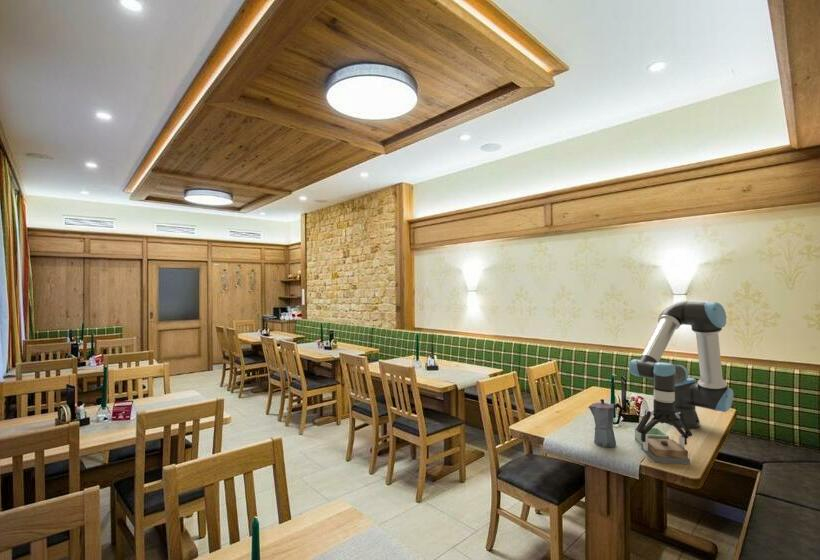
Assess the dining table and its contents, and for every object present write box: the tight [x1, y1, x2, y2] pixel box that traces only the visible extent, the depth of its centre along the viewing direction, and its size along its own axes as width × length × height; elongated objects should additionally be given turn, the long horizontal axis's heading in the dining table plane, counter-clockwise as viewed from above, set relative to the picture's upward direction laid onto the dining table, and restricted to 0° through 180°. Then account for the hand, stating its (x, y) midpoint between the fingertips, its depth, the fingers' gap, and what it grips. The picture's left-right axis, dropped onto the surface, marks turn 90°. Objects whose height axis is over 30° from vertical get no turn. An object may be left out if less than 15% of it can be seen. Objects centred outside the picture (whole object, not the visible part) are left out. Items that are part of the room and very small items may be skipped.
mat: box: [640, 444, 691, 465], centre depth 167 cm, size 13×13×2 cm
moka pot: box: [587, 398, 624, 448], centre depth 180 cm, size 10×15×20 cm, turn 95°
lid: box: [648, 438, 689, 459], centre depth 167 cm, size 12×12×4 cm
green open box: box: [634, 426, 670, 446], centre depth 179 cm, size 10×10×6 cm
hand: (663, 451), depth 167 cm, fingers open, 13 cm apart
